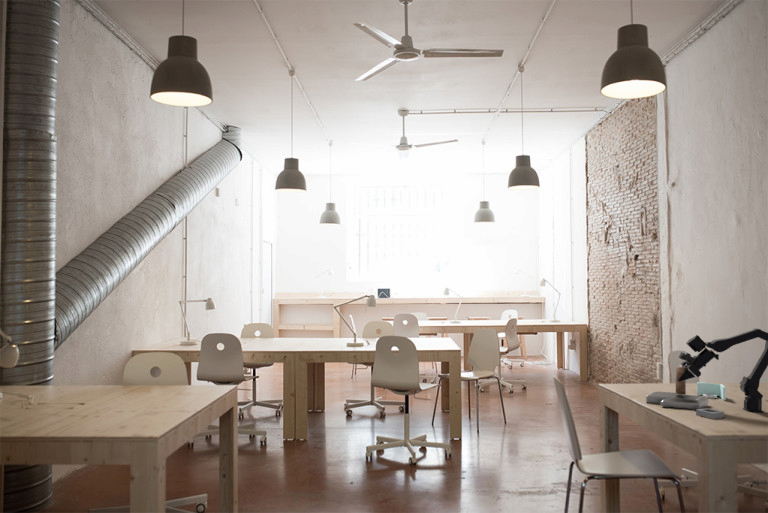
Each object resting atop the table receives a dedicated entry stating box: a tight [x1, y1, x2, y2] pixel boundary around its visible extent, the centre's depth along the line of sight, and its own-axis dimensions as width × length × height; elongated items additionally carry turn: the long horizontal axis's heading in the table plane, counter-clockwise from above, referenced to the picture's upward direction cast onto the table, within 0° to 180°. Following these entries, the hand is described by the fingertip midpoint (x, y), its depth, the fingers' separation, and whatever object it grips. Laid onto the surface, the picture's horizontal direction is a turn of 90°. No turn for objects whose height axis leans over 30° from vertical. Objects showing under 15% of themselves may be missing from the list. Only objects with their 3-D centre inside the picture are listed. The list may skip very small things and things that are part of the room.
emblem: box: [645, 391, 709, 410], centre depth 294 cm, size 28×5×28 cm
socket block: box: [695, 407, 725, 420], centre depth 268 cm, size 8×8×2 cm
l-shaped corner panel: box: [696, 381, 727, 401], centre depth 314 cm, size 12×12×8 cm
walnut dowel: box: [675, 366, 687, 395], centre depth 292 cm, size 4×4×13 cm
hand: (677, 380), depth 293 cm, fingers closed on walnut dowel, 4 cm apart
